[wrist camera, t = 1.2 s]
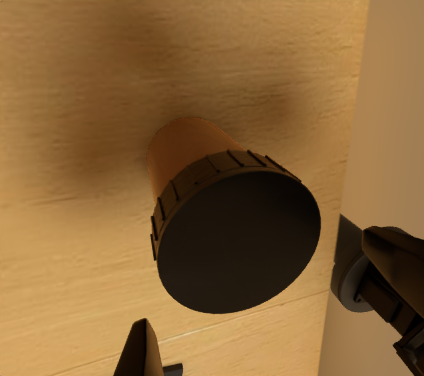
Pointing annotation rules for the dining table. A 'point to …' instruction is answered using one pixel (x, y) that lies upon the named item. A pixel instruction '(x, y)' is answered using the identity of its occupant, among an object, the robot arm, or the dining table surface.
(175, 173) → the jam jar
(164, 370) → the rubber mat
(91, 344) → the dining table surface
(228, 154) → the jar lid
